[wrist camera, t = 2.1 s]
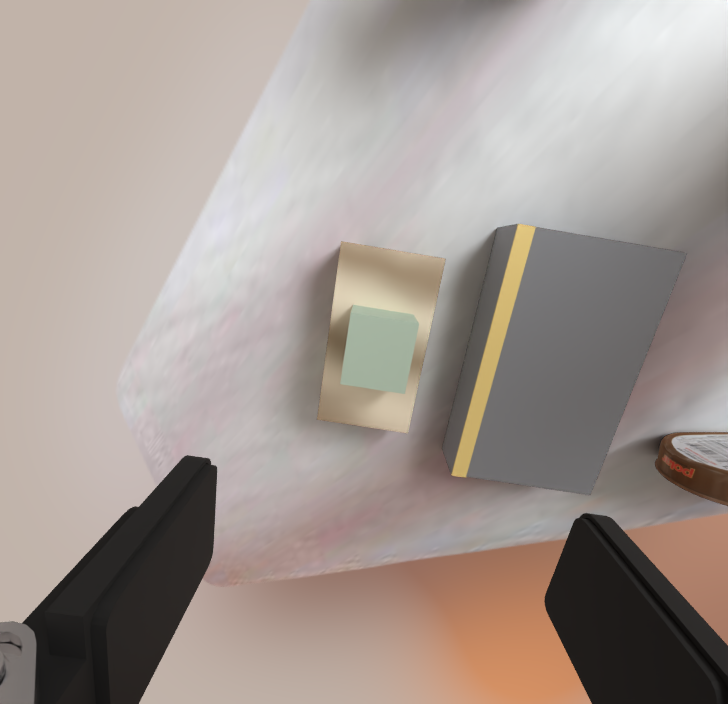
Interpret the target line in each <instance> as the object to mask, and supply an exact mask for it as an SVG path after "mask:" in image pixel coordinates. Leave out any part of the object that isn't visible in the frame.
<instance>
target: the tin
mask: <svg viewBox="0 0 728 704" xmlns="http://www.w3.org/2000/svg"><path fill="white" fill-rule="evenodd" d="M655 466H656V469H657V470H658V471H659V473H660V474H661V475H662V476H664V477H665V478H666V479H667V480H669V481H670V482H672V483H673V484H675V485H677V486H679V487H680V488H682V489H684V490H686V491H689V492H691V493H693V494H695V495H698V496H700V497H702V498H705V499H708V500H710V501H713V502H716V503H720V504H723V505H727V506H728V432H683V433H673V434H669V435H667V436H665V437H664V438H663V439H662V441H661V444H660V447H659V453H658V458H657V459H656V461H655Z"/></svg>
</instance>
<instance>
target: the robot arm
mask: <svg viewBox="0 0 728 704" xmlns="http://www.w3.org/2000/svg"><path fill="white" fill-rule="evenodd" d="M216 484H217V467H216V466H214V465H211V461H210V459H208V458H202V457H195V456H188V455H187V456H185V457H184V458H182V459H181V461H180V462H179V463H178V464H177V465H176V466H175V467H174V468H173V470H172V471H171V472H170V473H169V474H168V475H167V476H166V477H165V478H164V480H163V481H162V482H161V483H160V484H159V485H158V486H157V487H156V488H155V490H154V491H153V492H152V493H151V494H150V495H149V496H148V497H147V499H146V500H145V501H144V502H143V503H142V504H141V505H140V506H139V507H132V508H130V509H129V510H128V511H127V512H126V513H124V514H123V515H122V516H121V518H120V519H119V520H118V521H117V522H116V523H115V524H114V525H113V526H112V527H111V528H110V529H109V530H108V532H107V533H106V534H105V535H104V536H103V537H102V538H101V539H100V540H99V541H98V542H97V543H96V544H95V546H94V547H93V548H92V549H91V550H90V551H89V552H88V553H87V554H86V555H85V556H84V557H83V558H82V559H81V561H79V563H78V564H77V565H76V566H75V567H74V568H73V569H72V570H71V571H70V572H69V573H68V574H67V575H66V577H65V578H64V579H63V580H62V581H61V582H60V583H59V584H58V585H57V586H56V587H55V588H54V589H53V590H52V592H51V593H50V594H49V595H48V596H47V597H46V598H45V599H44V600H43V601H42V602H41V603H40V605H39V606H38V607H37V608H36V609H35V610H34V611H33V612H32V613H31V614H30V615H29V617H27V619H26V620H25V621H24V622H23V623H18V622H13V621H12V622H1V623H0V704H139V702H140V700H141V698H142V696H143V694H144V692H145V690H146V688H147V686H148V684H149V682H150V680H151V678H152V676H153V674H154V672H155V670H156V668H157V666H158V665H159V662H160V661H161V659H162V657H163V655H164V653H165V651H166V649H167V647H168V645H169V643H170V641H171V639H172V637H173V635H174V633H175V631H176V629H177V627H178V625H179V623H180V621H181V619H182V617H183V615H184V613H185V611H186V609H187V607H188V606H189V604H190V602H191V600H192V598H193V596H194V594H195V592H196V590H197V588H198V586H199V584H200V582H201V580H202V578H203V576H204V574H205V572H206V570H207V568H208V566H209V564H210V561H211V558H212V554H213V544H214V524H215V504H216ZM545 607H546V611H547V613H548V615H549V617H550V619H551V621H552V623H553V625H554V627H555V629H556V631H557V633H558V636H559V637H560V639H561V642H562V644H563V646H564V648H565V650H566V652H567V654H568V656H569V658H570V660H571V662H572V664H573V666H574V668H575V670H576V672H577V674H578V676H579V678H580V680H581V682H582V684H583V686H584V688H585V690H586V692H587V694H588V696H589V698H590V701H591V702H592V704H728V646H727V644H726V643H725V642H724V641H723V640H722V639H721V638H720V637H719V636H718V635H717V633H716V632H715V631H714V630H713V629H712V628H711V627H710V626H709V625H708V624H707V622H706V621H705V620H704V619H703V618H702V617H701V616H700V615H699V614H698V613H697V611H696V610H695V609H694V608H693V607H692V606H691V605H690V604H689V603H688V602H687V600H686V599H685V598H684V597H683V596H682V595H681V594H680V593H679V592H678V591H677V589H675V587H674V586H673V585H672V584H671V583H670V582H669V581H668V580H667V578H666V577H665V576H664V575H663V574H662V573H661V572H660V571H659V570H658V569H657V568H656V566H655V565H654V564H653V563H652V562H651V561H650V560H649V559H648V557H647V556H646V555H645V554H644V553H643V552H642V551H641V550H640V549H639V548H638V546H637V545H636V544H635V543H634V542H633V541H632V540H631V539H630V538H629V537H628V536H627V534H626V533H625V532H624V531H623V530H622V529H621V528H620V527H619V526H618V524H617V523H616V522H615V521H614V520H613V519H612V518H610V517H607V516H602V515H595V514H588V513H585V514H583V515H581V516H580V518H577V519H576V520H575V521H574V523H573V525H572V528H571V531H570V533H569V536H568V538H567V541H566V544H565V546H564V549H563V551H562V554H561V556H560V559H559V562H558V564H557V566H556V569H555V572H554V574H553V577H552V579H551V582H550V585H549V587H548V589H547V592H546V595H545Z"/></svg>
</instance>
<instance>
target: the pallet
mask: <svg viewBox="0 0 728 704" xmlns="http://www.w3.org/2000/svg"><path fill="white" fill-rule="evenodd" d="M445 260H446V259H444V258H438V257H432V256H426V255H420V254H414V253H408V252H402V251H396V250H390V249H384V248H378V247H372V246H366V245H360V244H354V243H348V242H342V241H341V246H340V254H339V261H338V268H337V276H336V283H335V291H334V298H333V305H332V313H331V320H330V328H329V335H328V342H327V350H326V357H325V364H324V372H323V379H322V387H321V394H320V401H319V409H318V416H317V420H323V421H330V422H336V423H343V424H350V425H356V426H363V427H369V428H376V429H382V430H389V431H396V432H402V433H408V430H409V426H410V421H411V416H412V412H413V407H414V403H415V398H416V393H417V389H418V384H419V380H420V375H421V370H422V366H423V361H424V357H425V352H426V347H427V343H428V338H429V333H430V329H431V324H432V320H433V315H434V310H435V306H436V301H437V297H438V292H439V287H440V283H441V278H442V274H443V269H444V264H445ZM353 305H358V306H364V307H370V308H376V309H383V310H389V311H395V312H401V313H408V314H413V315H414V316H415V318H416V319H417V321H418V322H419V328H418V332H417V337H416V342H415V347H414V352H413V357H412V362H411V366H410V371H409V376H408V381H407V386H406V391H405V394H401V393H395V392H388V391H382V390H375V389H369V388H362V387H356V386H349V385H343V384H340V382H341V375H342V368H343V361H344V355H345V348H346V341H347V335H348V328H349V321H350V315H351V310H352V307H353Z"/></svg>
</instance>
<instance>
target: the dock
mask: <svg viewBox="0 0 728 704" xmlns="http://www.w3.org/2000/svg"><path fill="white" fill-rule="evenodd" d="M686 255H687V253H685V252H679V251H673V250H667V249H661V248H655V247H649V246H644V245H638V244H632V243H626V242H620V241H614V240H608V239H603V238H597V237H591V236H585V235H579V234H573V233H567V232H562V231H556V230H550V229H544V228H538V227H534V226H528V225H522V224H515V225H509V226H504V227H498V228H497V231H496V235H495V239H494V243H493V247H492V251H491V255H490V259H489V263H488V267H487V271H486V275H485V279H484V283H483V287H482V291H481V295H480V299H479V303H478V307H477V311H476V315H475V319H474V323H473V327H472V331H471V335H470V339H469V343H468V347H467V351H466V355H465V359H464V363H463V367H462V371H461V375H460V379H459V383H458V387H457V391H456V395H455V399H454V403H453V407H452V411H451V415H450V419H449V423H448V427H447V431H446V435H445V439H444V443H443V446H442V450H443V453H444V456H445V458H446V461H447V464H448V467H449V470H450V472H451V475H452V476H458V477H465V478H466V477H472V478H478V479H485V480H492V481H498V482H505V483H512V484H518V485H525V486H532V487H539V488H545V489H552V490H559V491H565V492H572V493H579V494H585V495H591V492H592V490H593V487H594V485H595V482H596V480H597V477H598V475H599V472H600V470H601V467H602V465H603V462H604V460H605V457H606V455H607V452H608V450H609V447H610V445H611V442H612V440H613V437H614V435H615V432H616V430H617V427H618V425H619V422H620V420H621V417H622V415H623V412H624V410H625V407H626V405H627V402H628V400H629V397H630V395H631V392H632V390H633V387H634V385H635V382H636V380H637V377H638V375H639V372H640V370H641V367H642V365H643V362H644V360H645V357H646V355H647V352H648V350H649V347H650V345H651V342H652V340H653V337H654V335H655V332H656V330H657V327H658V325H659V322H660V320H661V318H662V315H663V313H664V310H665V308H666V305H667V303H668V300H669V298H670V295H671V293H672V290H673V288H674V285H675V283H676V280H677V278H678V275H679V273H680V270H681V268H682V265H683V263H684V260H685V258H686Z"/></svg>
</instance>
